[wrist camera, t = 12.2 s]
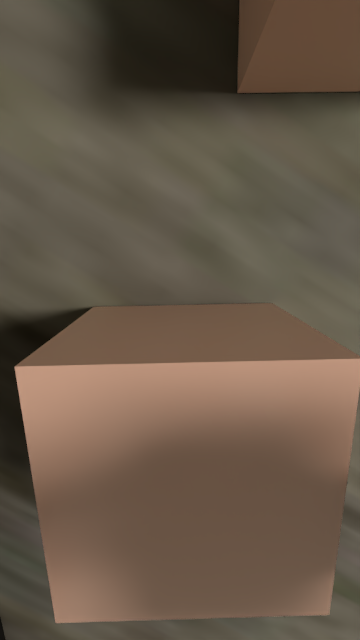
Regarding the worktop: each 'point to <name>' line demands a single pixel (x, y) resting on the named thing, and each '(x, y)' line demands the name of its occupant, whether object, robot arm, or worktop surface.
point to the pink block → (299, 46)
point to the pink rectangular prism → (189, 461)
